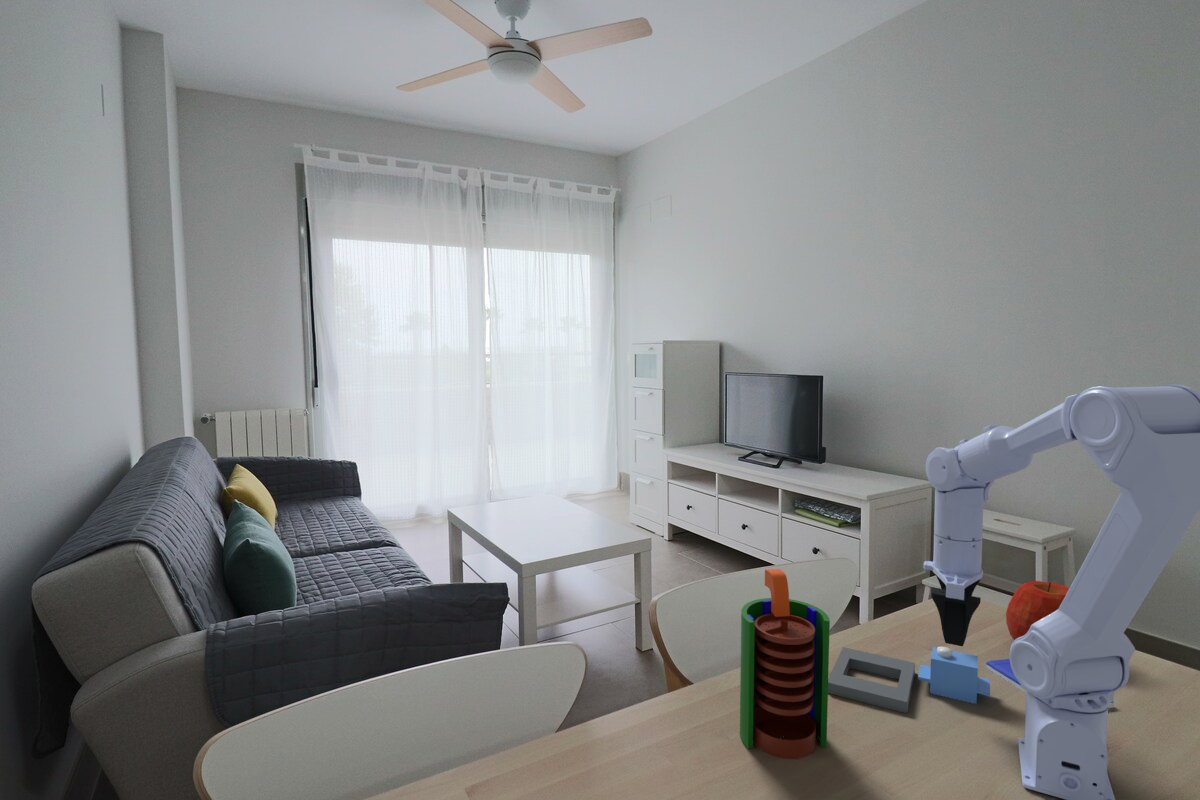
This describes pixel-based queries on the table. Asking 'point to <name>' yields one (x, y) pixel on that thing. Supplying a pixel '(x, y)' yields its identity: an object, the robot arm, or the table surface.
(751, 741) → the motor
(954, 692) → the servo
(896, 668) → the grey flat frame
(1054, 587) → the apple
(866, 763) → the table surface
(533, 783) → the table surface
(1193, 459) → the robot arm
